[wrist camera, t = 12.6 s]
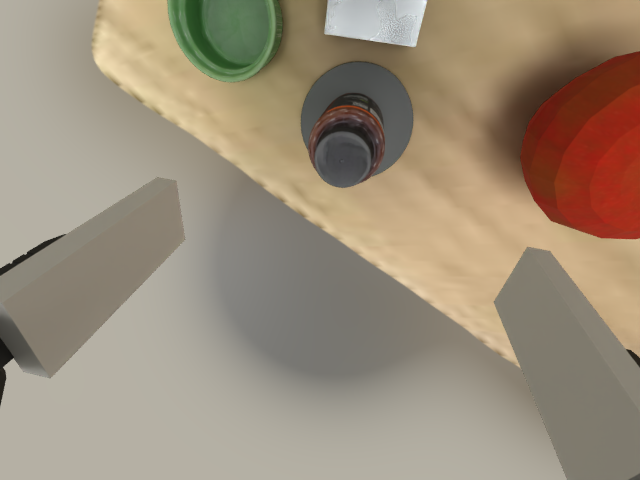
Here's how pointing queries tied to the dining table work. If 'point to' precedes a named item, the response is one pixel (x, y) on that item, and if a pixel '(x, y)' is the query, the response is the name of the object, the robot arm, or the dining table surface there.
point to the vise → (376, 20)
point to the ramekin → (227, 35)
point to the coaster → (376, 87)
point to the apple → (589, 151)
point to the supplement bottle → (348, 140)
